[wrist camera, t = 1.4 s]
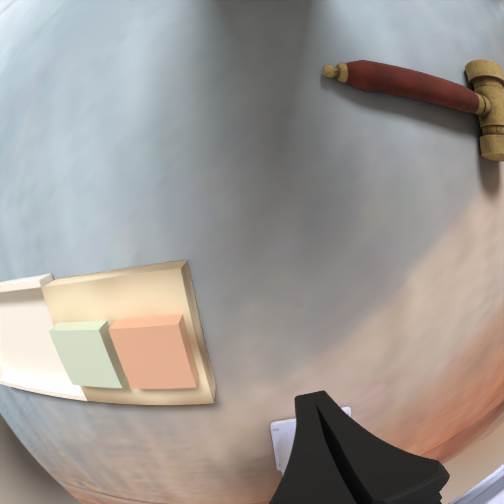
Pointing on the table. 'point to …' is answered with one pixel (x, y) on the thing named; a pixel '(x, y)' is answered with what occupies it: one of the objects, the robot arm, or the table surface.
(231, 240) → the table surface
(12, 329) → the tray
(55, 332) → the sage tile
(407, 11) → the table surface
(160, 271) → the maple board
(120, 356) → the terracotta tile
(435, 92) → the gavel
